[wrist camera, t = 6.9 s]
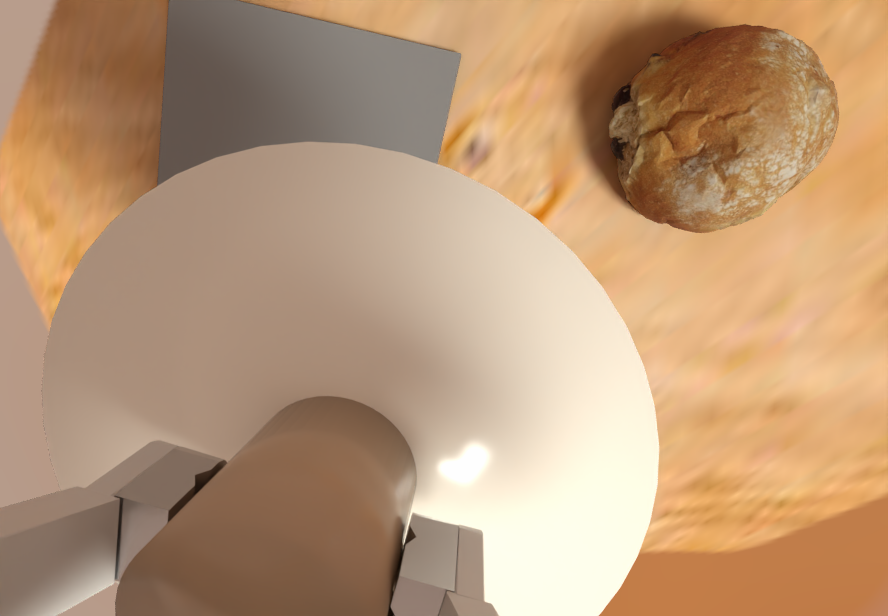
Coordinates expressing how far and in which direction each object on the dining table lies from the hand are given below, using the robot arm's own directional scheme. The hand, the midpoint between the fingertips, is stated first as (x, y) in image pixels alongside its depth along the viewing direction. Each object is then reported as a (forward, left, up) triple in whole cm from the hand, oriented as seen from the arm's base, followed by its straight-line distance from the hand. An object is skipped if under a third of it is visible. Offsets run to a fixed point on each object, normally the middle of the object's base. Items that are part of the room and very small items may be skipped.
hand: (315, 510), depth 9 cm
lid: (0, 0, -3) cm, 2 cm away
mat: (+10, -6, -19) cm, 22 cm away
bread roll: (-13, -13, -19) cm, 27 cm away
